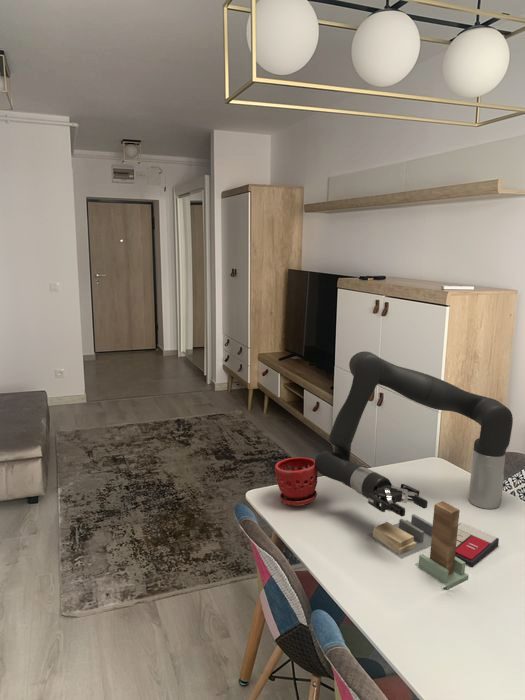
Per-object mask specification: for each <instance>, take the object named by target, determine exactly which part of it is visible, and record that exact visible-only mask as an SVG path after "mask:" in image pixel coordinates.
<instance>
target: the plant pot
mask: <svg viewBox="0 0 525 700" xmlns="http://www.w3.org/2000/svg"><path fill="white" fill-rule="evenodd" d="M287 467H290V470H287V469H286V468H287ZM296 468H297V469H296ZM303 468H304V469H303ZM274 472H275V479H276V481H277V486H278V489H279V491H280V492H281V493H280V495H279V499H280V500H281V502H283V503H284V504H286V505H288V506H295V507H296V506H297V507H298V506H304V505H307V504H310V503H311V502H313V501H314V500H315V499H316V498H317V495H318V492H317V490H316V489H317V485H318V478H319V477H318V474H319V472H318V471H317V469H316V467H315V459H313V458H311V457H310V458H309V457H299V456H298V457H297V456H295V457H289V458H284V459H282V460H280V461H278V462H276V464H275V465H274Z"/></svg>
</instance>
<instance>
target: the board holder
mask: <svg viewBox="0 0 525 700" xmlns="http://www.w3.org/2000/svg"><path fill="white" fill-rule="evenodd" d="M465 563H466V562H464V561H462V560H461V559H459V558H457V557H456V556H455V562H454V573H453V574H451V575H448V573H449V570H447V569H446V568H444V567H443V566H441V565H439V564H438V563H436V562H435V561H433V560H431V559H430V557H428V556H427V555H425V554H424V553H421V554H419V555H418V562H417V563H416V564H414V565H415V566H416V567H417V568H419V569H420V570H422V571H423V572H425V573H427V574H428V575H429V576H431V577H433V579H436V580H437V581H439V582H440V583H442V584H443V585H445V586H444V587H443V589H444V590H445V591H448V590H450V589H452V588H454V587H457V586H458V585H460V584H462V583H464V582H466V581H468V580H469V574H468V573H466V572H465V571H466V564H465Z"/></svg>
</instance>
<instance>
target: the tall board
mask: <svg viewBox="0 0 525 700" xmlns="http://www.w3.org/2000/svg"><path fill="white" fill-rule="evenodd" d="M433 507H434V509H433V518H432V519H433V520H432V524H433V528H432V539H431V546H430V552H429V553H430V554H429V558H430V559H431V560H433V561H435V562H436V563H438V564H439V565H441V566H443V567H444V568H446V569H447V570H449V573H448V575H451V574H453V573H454V562H455V552H456V542H457V532H458V525H459V522H460V521H459V519H460V509H459V508H457V507H455V506H453V505H452V504H449V503H447V502H445V501H444V500H442V501H439V502H437V503H434V506H433Z"/></svg>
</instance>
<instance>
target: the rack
mask: <svg viewBox="0 0 525 700" xmlns="http://www.w3.org/2000/svg"><path fill="white" fill-rule="evenodd" d="M393 525H394V526H396V527H398V528H399V529H401V530H403V531H405V532H407V533H409V534H410V535H412V536H414V542H416V548H414V549H412V550H410V551H407V552H405V553H402V554H398V553H397V552H395V551H394V550H392V549H391V548H389V547H388V546H386V545H385V544H383V543H382V542H380V541H379V540H377V539H376V538H374V537H373V532H371V533H368V534H366V536H367V537H368V538H370V539H371V540H373V541H374V542H376V543H377V544H378V545H381V547H383V548H385V549H386V550H388V551H389V552H390V553H392V554H393V555H394V556H397V557H398V558H400V559H405V558H407V557H409V556H412V555H413V554H416V553H418V552H420V551H421V552H422V551H423V550H426V549H428V548H429V547H430V548H431V539H432V528H433V523H431V522H429V521H427V520H425V519H424V518H422V517H420V516H419V515H417V514H415V513H413V514H411V520H408V519H406V520H405V519H404V518H400V519H399V520H398V522H397V523H395V524H393Z"/></svg>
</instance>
